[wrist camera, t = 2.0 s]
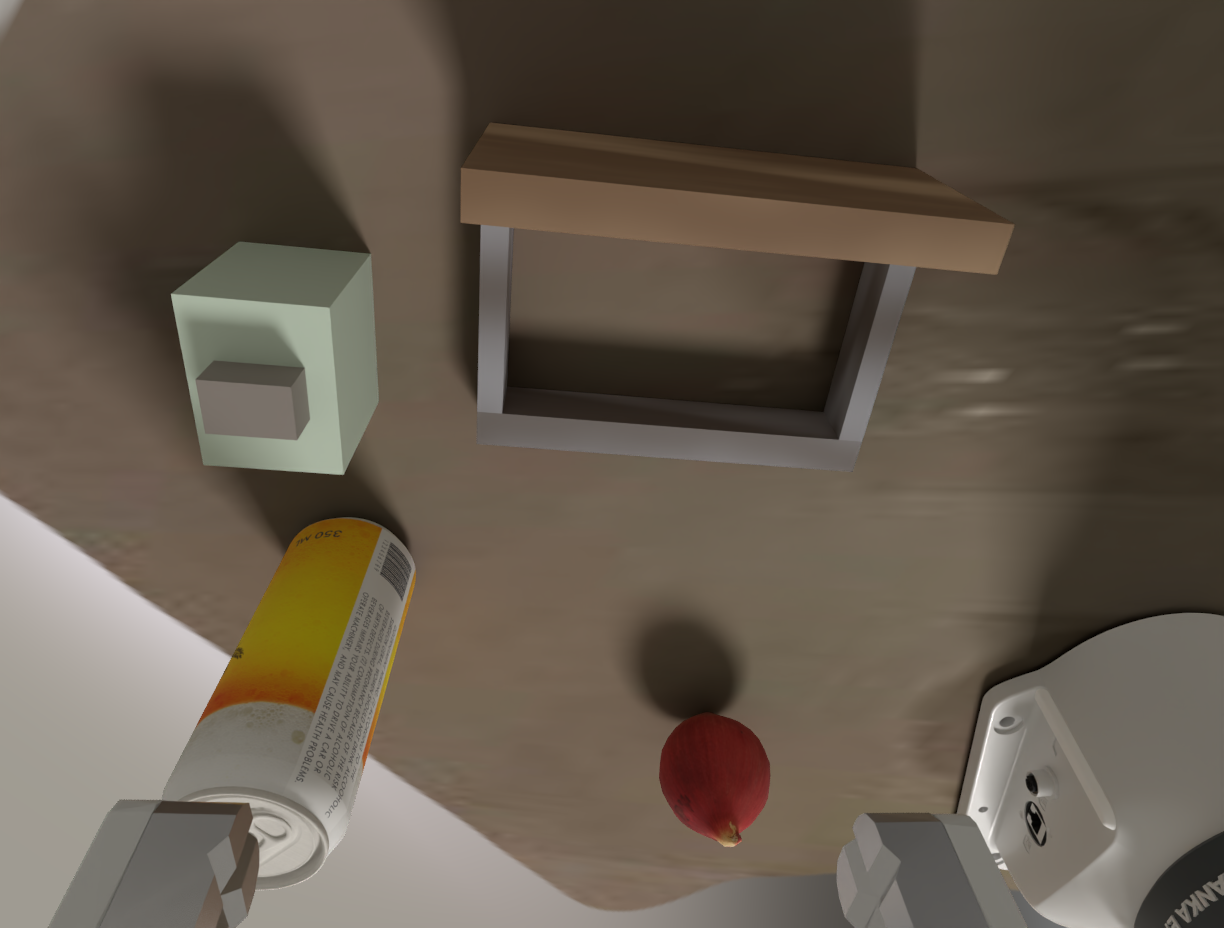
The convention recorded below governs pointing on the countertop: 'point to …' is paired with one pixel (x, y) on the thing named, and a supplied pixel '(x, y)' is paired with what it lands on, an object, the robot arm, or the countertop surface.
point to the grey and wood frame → (723, 218)
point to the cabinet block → (280, 356)
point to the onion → (715, 776)
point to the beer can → (303, 695)
